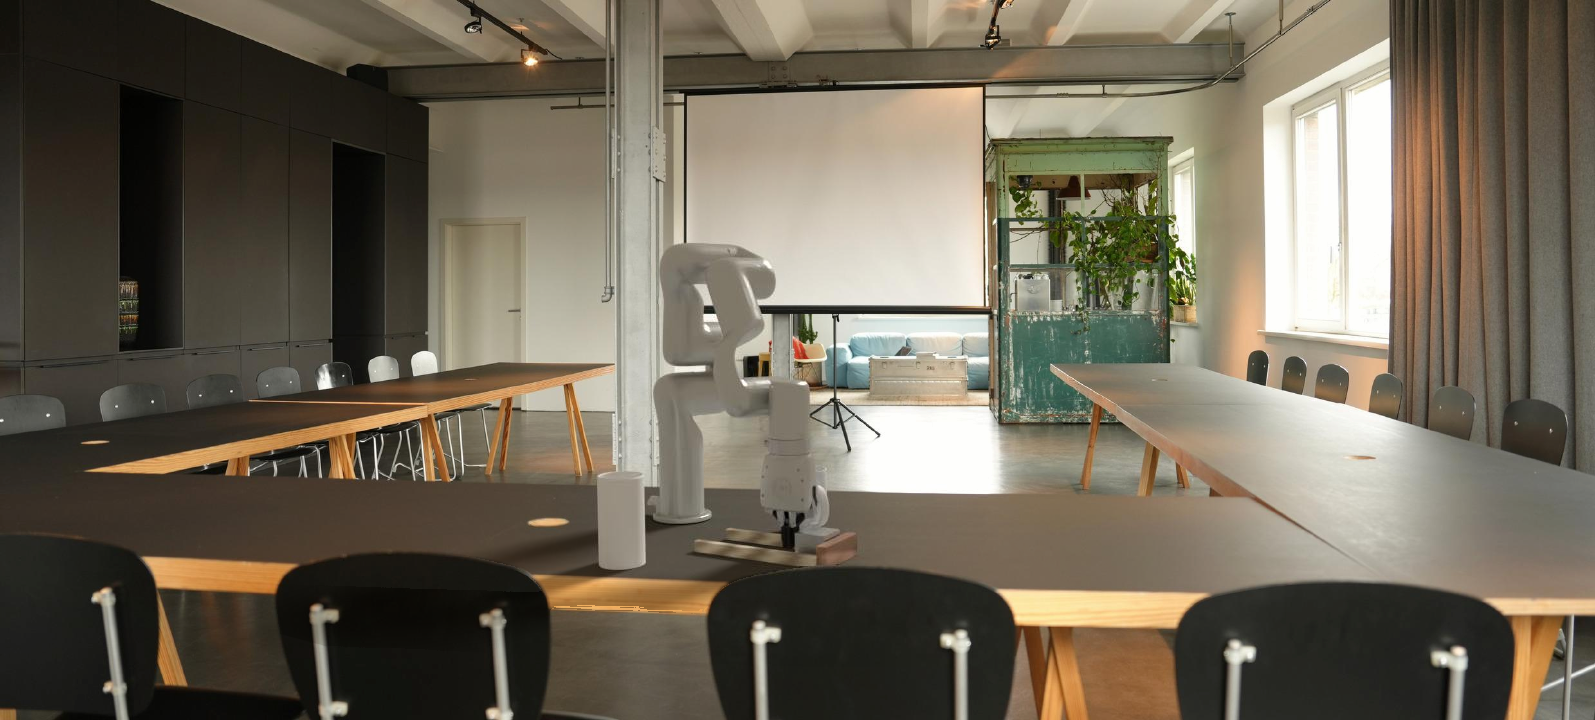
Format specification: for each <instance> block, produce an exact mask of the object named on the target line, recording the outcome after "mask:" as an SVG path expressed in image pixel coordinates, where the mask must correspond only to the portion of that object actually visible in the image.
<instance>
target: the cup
mask: <svg viewBox="0 0 1595 720" xmlns="http://www.w3.org/2000/svg"><path fill="white" fill-rule="evenodd" d="M596 484H597V485H596V486H597V487H596V491H597V492H596V493H597V497H596V498H597V529H598V530H597V537H598V540H597V541H598V566H599V567H600V568H601V569H605V570H612V571H618V570H619V571H621V570H623V571H624V570H632V569H636V568H640V567H642V566H644V565H645V564H646V563H647V562H646V559H647V558H646V515H645V514H646V512H645V511H646V510H645V509H646V507H645V474H644V473H643V472H640V471H634V470H633V471H630V470H628V471H627V470H623V471H622V470H620V471H619V470H618V471H608V472H603V473H599V474H597V476H596Z"/></svg>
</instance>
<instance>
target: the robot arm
mask: <svg viewBox="0 0 1595 720" xmlns="http://www.w3.org/2000/svg"><path fill="white" fill-rule="evenodd" d="M658 269H659V270H658V273H659V281H660V282H659V283H660V286H661V291H662V298H663V315H662V318H663V319H662V320H663V322H662V356H663V358H664V361H665V362H666V363H667V364H668V365H670V366H673V367H703V366H704V368H705V370H704V371H681V372H670V373H667V374H664V375H662V376H661V377H659V378H658V379H657V380H656V381H655V383H654V386H653V391H652V398H653V403H654V407H655V411H656V421H657V430H658V431H657V432H658V456H659V457H658V467H659V469H658V470H659V475H658V476H659V496H658V495H650V497H649V499H648V500H647V502H646V503H647V506H649V507H655V511H654V512H653V513H652V519H653V521H655V522H659V523H662V524H663V523H664V524H671V525H672V524H674V525H675V524H676V525H677V524H679V525H681V524H683V525H684V524H685V525H686V524H696V523H700V522H704V521H708V520H709V519H711V518H712V511H711V510H710V509H708V508H705V479H704V478H705V474H704V473H705V471H704V468H705V467H704V437H703V433H702V431H701V429H700V427H699V426H698V424H697V423H696V421H695V420H694V417H697V416H704V415H715V414H720V413H723V412H724V413H725V412H726V413H727V414H728V415H729V416H730V417H732V418H734V419H740V420H741V419H751V418H761V417H764V418H765V417H766V418H767V417H768V439H764V440H763V446H764V447H765V448H766V447H767V448H768V452H769V453H766V454H764V459H763V462H762V463H763V464H762V469H761V478H760V479H761V480H760V494H759V495H760V496H759V497H760V498H759V499H760V505H761V506H762V507H763V511H764V513H767V514H769V515H771V516H773V517H774V518H775V519H776V521H777V523H778V526H779V527H780V526H781V527H780V534H781V541H782V547H781V548H783V549H790V550H792V549H793V548H794V547H795V533H796V532H798V531H800V529H799V525H801V524H802V522H803V521H804V520H805V519H808V518H813V517H816V516H817V510H816V507H817V505H818V483H817V473H816V467H815V465H816V463H815V458H814V455H813V454H811V414H810V413H811V398H810V397H811V396H810V395H811V391H810V390H811V389H810V386H809V384H808V382H807V381H805V380H802V379H801V380H800V379H789V378H788V377H785V376H780V375H773V376H772V375H771V376H751V377H741V376H740V372H739V370H738V366H737V363H736V351H737V348H739V347H741V346H742V345H745V344H746V343H747V344H748V343H749V342H750V341H752V340H754V339H756V338H757V337H758V336H759V335H761V334H762V332H763V331H764V329H765V320H764V318H763V317H764V316H763V314H762V312H761V308H760V306H759V303H758V300H767V299H768V298H771V296H772V295H773V294H774V292H775V289H776V287H777V286H776V284H777V281H776V280H777V278H776V274H775V270H774V269H773V267H772V265H771V264H770V262H769V261H768V260H767V259H766V258H763V256H760V255H758V254H756V253H754V252H752V251H750V250H748V249H746V248H744V247H742V246H739V245H736V244H728V243H727V244H726V243H723V244H722V243H708V242H707V243H705V242H704V243H703V242H682V243H676V244H673V245H671V246H669V247H668V248H667V249H665V250H664V252H663V253H662V256H661V258H660V262H659V268H658ZM696 285H706V287H707V291H708V294H709V296H710V300H711V303H712V306H713V309H714V311H715V312H714V313H715V315H716V319H717V321H705V320H704V314H705V313H704V310H705V304H704V303H705V302H704V299H703V297H702V295H701V293H700V290H699V289H698V288H697V286H696ZM805 511H806V512H805ZM790 512H791V514H790Z"/></svg>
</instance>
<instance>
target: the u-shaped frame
mask: <svg viewBox="0 0 1595 720" xmlns="http://www.w3.org/2000/svg"><path fill="white" fill-rule="evenodd" d="M725 540H726V541H735V542H744V543H748V544H757V545H766V546H772V547H778V548H783V547H782V541H781V533H773V532H766V531H757V530H749V529H742V528H734V527H729V528H725ZM792 549H793V550H795V547H794V548H792ZM693 551H694V552H695V553H701V554H708V555H716V556H723V557H730V558H736V559H743V560H751V561H757V562H763V563H765V562H766V563H771V564H777V565H778V564H779V565H784V566H785V565H786V566H792V567H799V566H815V565H833V564H838V565H840V564H842V563H844V562H846V561H848V560H851V559H852V558H854V557H856V556H857V555H858V533H857V532H851V531H846V532H845V533H842V534H840V536H838V537H835V538H833V539H831V540H829V541H827V542H825V543H823V544H820V545H818V546H816V555H811V554H803V553H796V552H795V551H786V550H780V549H773V548H765V547H758V546H752V545H751V546H750V545H742V544H736V543H729V542H721V541H715V540H714V541H713V540H709V539H708V540H707V539H699V538H698V539H696V540H694V541H693ZM799 568H800V567H799Z"/></svg>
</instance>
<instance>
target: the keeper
mask: <svg viewBox="0 0 1595 720" xmlns="http://www.w3.org/2000/svg"><path fill="white" fill-rule="evenodd" d="M840 530H841V529H839V528H831V527H823V526H820V527H815V526H809V527H807V528H805V529H802V530H800V531H798V532H796V533H795V549H794V552H796V553H803V554H811V555H816V546H818V545H820V544H823V543H825V542H827V541H829V540H831V539H833V538H835V537H838V536H840V535H841V533H840V532H841V531H840Z"/></svg>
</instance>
